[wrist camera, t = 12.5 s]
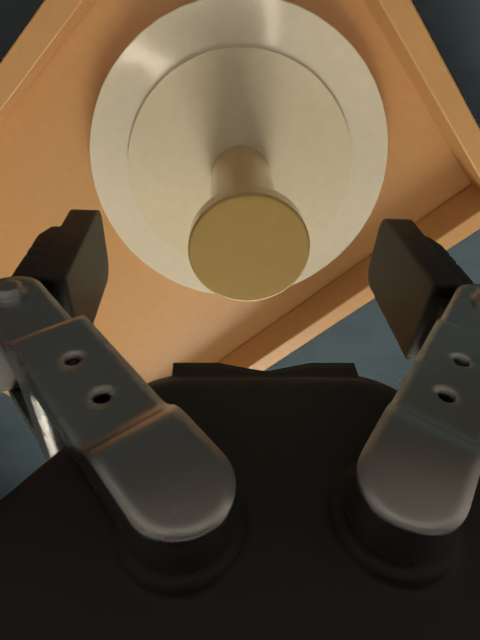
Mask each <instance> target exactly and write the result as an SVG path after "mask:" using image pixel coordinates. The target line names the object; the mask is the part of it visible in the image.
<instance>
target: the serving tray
mask: <svg viewBox="0 0 480 640" xmlns="http://www.w3.org/2000/svg"><path fill="white" fill-rule="evenodd" d="M191 1H194V0H44V1H43V3H42V4H41V6H40V7H39V8H38V10H37V11H36V13H35V14H34V16H33V17H32V18H31V20H30V21H29V23H28V24H27V25H26V27H25V28H24V30H23V31H22V33H21V34H20V35H19V37H18V38H17V40H16V41H15V42H14V44H13V45H12V47H11V48H10V50H9V51H8V52H7V54H6V55H5V57H4V58H3V59H2V61H1V62H0V279H1V278H5V277H11V276H12V275H13V273H14V272H15V270H16V268H17V267H18V265H19V264H20V262H21V261H22V259H23V258H24V256H25V255H27V252H28V250H29V249H30V247H32V244H33V242H34V241H35V239H36V238H37V236H38V235H39V234H41V233H42V232H44V231H45V230H47V229H48V228H50V227H52V226H61V225H62V223H63V222H64V220H65V218H66V216H67V215H68V213H69V211H70V210H71V209H80V210H99V211H100V213H101V216H102V221H103V228H104V235H105V242H106V249H107V256H108V264H109V273H108V281H107V284H106V287H105V290H104V293H103V296H102V299H101V302H100V305H99V308H98V311H97V314H96V317H95V320H94V323H93V324H94V326H95V327H96V328H97V329H98V330H99V331H100V332H101V333H102V334H103V335H104V337H105V338H106V339H107V340H108V341H109V342H110V343H111V344H112V345H113V346H114V347H115V349H116V350H117V351H118V352H119V353H120V354H121V355H122V356H123V357H124V358H125V360H126V361H127V362H128V363H129V364H130V365H131V366H132V367H133V368H134V369H135V371H136V372H137V373H138V374H139V375H140V376H141V377H142V378H143V379H144V380H145V381H146V383H149V382H152V381H154V380H157V379H161V378H164V377H169V376H172V370H173V363H223V364H228V365H234V366H239V367H244V368H250V369H255V370H260V371H264V370H265V369H267V368H269V367H270V366H272V365H273V364H275V363H276V362H278V361H279V360H281V359H282V358H284V357H285V356H287V355H288V354H290V353H291V352H293V351H294V350H296V349H297V348H299V347H300V346H302V345H303V344H305V343H306V342H308V341H310V340H311V339H313V338H314V337H316V336H317V335H319V334H320V333H322V332H323V331H325V330H326V329H328V328H329V327H331V326H332V325H334V324H335V323H337V322H338V321H340V320H341V319H343V318H344V317H346V316H347V315H349V314H351V313H352V312H354V311H355V310H357V309H358V308H360V307H361V306H363V305H364V304H366V303H367V302H369V301H370V300H372V299H373V298H375V296H374V294H373V292H372V290H371V288H370V286H369V282H368V269H369V264H370V260H371V256H372V253H373V249H374V245H375V241H376V238H377V234H378V230H379V227H380V224H381V222H382V221H383V220H384V219H411V220H412V221H413V222H414V223H415V224H416V226H417V227H418V228H419V229H420V231H421V232H422V233H423V234H424V236H428V237H429V238H431V239H432V240H434V241H436V242H437V243H439V244H440V245H442V246H443V248H444V249H445V250H448V249H449V248H451V247H452V246H454V245H455V244H457V243H458V242H460V241H461V240H463V239H464V238H466V237H467V236H469V235H471V234H472V233H474V232H475V231H477V230H478V229H480V128H479V126H478V125H477V123H476V121H475V119H474V117H473V115H472V113H471V111H470V109H469V108H468V106H467V104H466V102H465V100H464V98H463V96H462V94H461V93H460V91H459V89H458V87H457V85H456V83H455V81H454V79H453V77H452V76H451V74H450V72H449V70H448V68H447V66H446V64H445V62H444V61H443V59H442V57H441V55H440V53H439V51H438V49H437V47H436V45H435V44H434V42H433V40H432V38H431V36H430V34H429V32H428V30H427V29H426V27H425V25H424V23H423V21H422V19H421V17H420V15H419V13H418V12H417V10H416V8H415V6H414V4H413V2H412V0H285V1H289V2H292V3H295V4H297V5H299V6H301V7H303V8H305V9H307V10H309V11H311V12H313V13H315V14H317V15H318V16H320V17H321V18H323V19H324V20H325V21H327V22H328V23H329V24H331V25H332V26H334V27H335V28H336V29H337V30H338V31H339V32H340V33H341V34H342V35H343V36H344V37H345V38H346V39H347V40H348V41H349V42H350V43H351V44H352V45H353V46H354V48H355V49H356V50H357V52H358V53H359V54H360V56H361V57H362V58H363V60H364V61H365V63H366V64H367V66H368V68H369V70H370V72H371V74H372V76H373V78H374V79H375V81H376V84H377V87H378V90H379V93H380V95H381V98H382V101H383V105H384V110H385V115H386V120H387V130H388V156H387V165H386V170H385V176H384V181H383V184H382V187H381V190H380V193H379V196H378V199H377V201H376V204H375V206H374V208H373V210H372V212H371V214H370V216H369V218H368V220H367V221H366V223H365V224H364V226H363V228H362V229H361V231H360V232H359V233H358V235H357V236H356V237H355V239H354V240H353V241H352V242H351V244H350V245H349V246H348V247H347V248H346V249H345V250H344V251H343V252H342V253H341V254H340V255H339V256H338V257H337V258H336V259H334V260H333V261H332V262H331V263H329V264H328V265H327V266H326V267H324V268H323V269H321V270H320V271H318V272H317V273H315V274H314V275H312V276H310V277H308V278H306V279H304V280H302V281H300V282H298V283H296V284H294V285H291V286H290V287H289V288H287V289H286V290H285V291H283V292H281V293H280V294H278V295H276V296H274V297H271V298H268V299H265V300H261V301H254V302H240V301H234V300H229V299H226V298H223V297H221V296H219V295H217V294H212V293H207V292H202V291H198V290H195V289H192V288H189V287H186V286H183V285H181V284H179V283H176V282H174V281H172V280H170V279H168V278H166V277H165V276H163V275H161V274H159V273H158V272H156V271H155V270H153V269H152V268H151V267H149V266H148V265H147V264H145V263H144V262H143V261H142V260H141V259H139V258H138V257H137V256H136V255H135V254H134V253H133V252H132V251H131V250H130V249H129V248H128V247H127V245H126V244H125V243H124V242H123V241H122V239H121V238H120V237H119V236H118V234H117V233H116V231H115V229H114V228H113V226H112V225H111V223H110V222H109V220H108V218H107V216H106V214H105V212H104V210H103V208H102V206H101V203H100V200H99V198H98V195H97V192H96V189H95V185H94V181H93V176H92V171H91V163H90V151H89V145H90V127H91V122H92V117H93V112H94V107H95V104H96V101H97V98H98V95H99V92H100V89H101V86H102V84H103V82H104V80H105V78H106V76H107V75H108V73H109V71H110V69H111V67H112V65H113V64H114V62H115V61H116V60H117V58H118V57H119V55H120V54H121V53H122V51H123V50H124V48H125V47H126V46H127V45H128V44H129V43H130V42H131V41H132V40H133V39H134V38H135V37H136V36H137V35H138V34H139V33H140V32H141V31H142V30H143V29H145V28H146V27H147V26H149V25H150V24H151V23H152V22H154V21H155V20H156V19H158V18H159V17H160V16H162V15H164V14H166V13H167V12H169V11H171V10H173V9H175V8H177V7H179V6H180V5H183V4H185V3H188V2H191ZM3 393H5V394H7V395H9V396H10V394H9V392H8V391H3Z"/></svg>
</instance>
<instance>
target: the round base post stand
mask: <svg viewBox="0 0 480 640" xmlns="http://www.w3.org/2000/svg"><path fill="white" fill-rule="evenodd" d="M89 151H90V163H91V171H92V176H93V181H94V185H95V189H96V192H97V195H98V198H99V200H100V203H101V206H102V208H103V210H104V212H105V214H106V216H107V218H108V220H109V222H110V223H111V225H112V226H113V228H114V229H115V231H116V233H117V234H118V236H119V237H120V238H121V239H122V241H123V242H124V243H125V244H126V245H127V247H128V248H129V249H130V250H131V251H132V252H133V253H134V254H135V255H136V256H137V257H138V258H139V259H141V260H142V261H143V262H144V263H145V264H147V265H148V266H149V267H151V268H152V269H153V270H155V271H156V272H158V273H159V274H161V275H163V276H165V277H166V278H168V279H170V280H172V281H174V282H176V283H179V284H181V285H183V286H186V287H189V288H192V289H195V290H198V291H202V292H207V293H212V294H217V295H219V296H221V297H223V298H226V299H229V300H234V301H240V302H254V301H261V300H265V299H268V298H271V297H274V296H276V295H278V294H280V293H281V292H283V291H285V290H286V289H287V288H289V287H290V286H291V285H294V284H296V283H298V282H300V281H302V280H304V279H306V278H308V277H310V276H312V275H314V274H315V273H317V272H318V271H320V270H321V269H323V268H324V267H326V266H327V265H328V264H329V263H331V262H332V261H333V260H334V259H336V258H337V257H338V256H339V255H340V254H341V253H342V252H343V251H344V250H345V249H346V248H347V247H348V246H349V245H350V244H351V242H352V241H353V240H354V239H355V237H356V236H357V235H358V233H359V232H360V231H361V229H362V228H363V226H364V224H365V223H366V221H367V220H368V218H369V216H370V214H371V212H372V210H373V208H374V206H375V204H376V201H377V199H378V196H379V193H380V190H381V187H382V184H383V181H384V176H385V170H386V165H387V156H388V130H387V120H386V115H385V110H384V105H383V101H382V98H381V95H380V93H379V90H378V87H377V84H376V81H375V79H374V78H373V76H372V74H371V72H370V70H369V68H368V66H367V64H366V63H365V61H364V60H363V58H362V57H361V56H360V54H359V53H358V52H357V50H356V49H355V48H354V46H353V45H352V44H351V43H350V42H349V41H348V40H347V39H346V38H345V37H344V36H343V35H342V34H341V33H340V32H339V31H338V30H337V29H336V28H335V27H334V26H332V25H331V24H329V23H328V22H327V21H325V20H324V19H323V18H321V17H320V16H318V15H317V14H315V13H313V12H311V11H309V10H307V9H305V8H303V7H301V6H299V5H297V4H295V3H292V2H289V1H285V0H194V1H191V2H188V3H185V4H183V5H180V6H179V7H177V8H175V9H173V10H171V11H169V12H167V13H166V14H164V15H162V16H160V17H159V18H158V19H156V20H155V21H154V22H152V23H151V24H150V25H149V26H147V27H146V28H145V29H143V30H142V31H141V32H140V33H139V34H138V35H137V36H136V37H135V38H134V39H133V40H132V41H131V42H130V43H129V44H128V45H127V46H126V47H125V48H124V50H123V51H122V53H121V54H120V55H119V57H118V58H117V60H116V61H115V62H114V64H113V65H112V67H111V69H110V71H109V73H108V75H107V76H106V78H105V80H104V82H103V84H102V86H101V89H100V92H99V95H98V98H97V101H96V104H95V107H94V112H93V117H92V122H91V127H90V145H89Z"/></svg>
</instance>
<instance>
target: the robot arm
mask: <svg viewBox="0 0 480 640" xmlns="http://www.w3.org/2000/svg"><path fill="white" fill-rule="evenodd" d="M108 273H109V264H108V256H107V249H106V242H105V235H104V228H103V221H102V216H101V213H100V211H99V210H80V209H71V210H70V211H69V213H68V215H67V216H66V218H65V220H64V222H63V223H62V225H61V226H52V227H50V228H48V229H47V230H45V231H44V232H42V233H41V234H39V235H38V236H37V238H36V239H35V241H34V242H33V244H32V247H30V249H29V250H28V252H27V255H25V256H24V258H23V259H22V261H21V262H20V264H19V265H18V267H17V268H16V270H15V272H14V273H13V275H12V276H11V277H5V278H1V279H0V392H3V391H8V392H9V394H10V396H11V398H12V400H13V401H14V403H15V405H16V406H17V408H18V410H19V412H20V413H21V415H22V417H23V418H24V420H25V422H26V423H27V425H28V427H29V429H30V430H31V432H32V434H33V435H34V437H35V439H36V441H37V442H38V444H39V446H40V448H41V450H42V453H43V455H44V457H45V459H46V462H45V463H44V464H43V465H42V466H41V467H39V468H38V469H37V470H36V471H35V472H34V473H32V474H31V475H30V476H29V477H28V478H26V479H25V480H24V481H23V482H22V483H21V484H19V485H18V486H17V487H16V488H15V489H13V490H12V491H11V492H10V493H9V494H7V495H6V496H5V497H4V498H3V499H2V500H0V640H480V284H474V283H473V282H472V281H471V280H470V278H469V277H468V276H467V275H466V274H465V272H464V271H463V270H462V269H461V268H460V267H459V265H456V262H455V261H454V259H453V258H452V257H449V254H448V252H447V251H446V250H445V249H444V248H443V246H442V245H440V244H439V243H437V242H436V241H434V240H432V239H431V238H429V237H428V236H424V234H423V233H422V232H421V231H420V229H419V228H418V227H417V226H416V224H415V223H414V222H413V221H412V220H411V219H384V220H383V221H382V222H381V224H380V227H379V230H378V234H377V238H376V241H375V245H374V249H373V253H372V256H371V260H370V264H369V269H368V282H369V286H370V288H371V290H372V292H373V294H374V296H375V298H376V300H377V302H378V304H379V306H380V308H381V310H382V312H383V314H384V316H385V318H386V320H387V322H388V324H389V326H390V328H391V330H392V331H393V333H394V335H395V337H396V339H397V341H398V343H399V345H400V347H401V349H402V351H403V353H404V355H405V357H406V359H415V360H414V362H413V364H412V366H411V368H410V369H409V371H408V373H407V375H406V377H405V378H404V380H403V382H402V384H401V386H400V387H399V389H398V391H397V390H395V389H393V388H391V387H389V386H387V385H385V384H382V383H380V382H377V381H374V380H371V379H367V378H364V377H359V376H358V373H357V370H356V368H355V365H354V363H308V364H303V365H297V366H292V367H287V368H282V369H277V370H272V371H260V370H255V369H250V368H244V367H239V366H234V365H228V364H223V363H173V370H172V376H169V377H164V378H161V379H157V380H154V381H152V382H149V383H146V381H145V380H144V379H143V378H142V377H141V376H140V375H139V374H138V373H137V372H136V371H135V369H134V368H133V367H132V366H131V365H130V364H129V363H128V362H127V361H126V360H125V358H124V357H123V356H122V355H121V354H120V353H119V352H118V351H117V350H116V349H115V347H114V346H113V345H112V344H111V343H110V342H109V341H108V340H107V339H106V338H105V337H104V335H103V334H102V333H101V332H100V331H99V330H98V329H97V328H96V327H95V326H94V324H93V323H94V320H95V317H96V314H97V311H98V308H99V305H100V302H101V299H102V296H103V293H104V290H105V287H106V284H107V281H108Z"/></svg>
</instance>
